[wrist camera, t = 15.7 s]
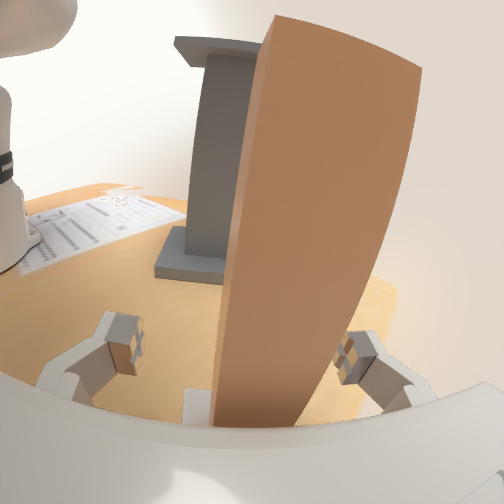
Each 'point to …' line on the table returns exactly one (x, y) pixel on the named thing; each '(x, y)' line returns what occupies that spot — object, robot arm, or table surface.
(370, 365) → the robot arm
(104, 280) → the table surface
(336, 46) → the bar
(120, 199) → the fidget spinner
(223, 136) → the stand
